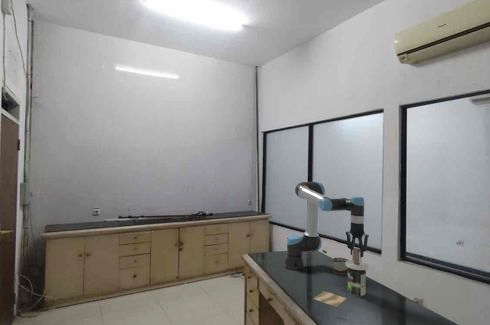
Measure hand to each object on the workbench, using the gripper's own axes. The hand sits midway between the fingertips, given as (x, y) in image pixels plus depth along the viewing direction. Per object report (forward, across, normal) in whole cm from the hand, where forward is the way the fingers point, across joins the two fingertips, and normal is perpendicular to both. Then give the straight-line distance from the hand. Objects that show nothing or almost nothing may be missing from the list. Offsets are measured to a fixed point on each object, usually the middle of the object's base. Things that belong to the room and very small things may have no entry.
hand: (356, 261), depth 170 cm
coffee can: (+19, 0, 0) cm, 19 cm away
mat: (+19, -8, -19) cm, 28 cm away
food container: (+19, -22, +27) cm, 40 cm away
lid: (+3, 0, 0) cm, 3 cm away
